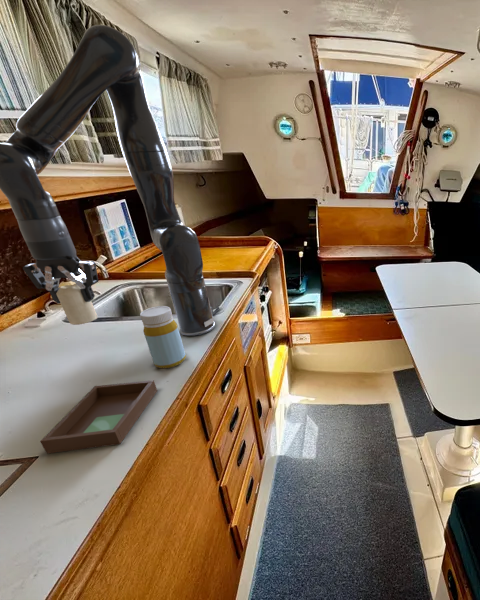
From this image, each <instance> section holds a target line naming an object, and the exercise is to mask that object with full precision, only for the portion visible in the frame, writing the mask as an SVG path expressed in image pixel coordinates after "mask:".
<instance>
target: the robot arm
mask: <svg viewBox="0 0 480 600" xmlns="http://www.w3.org/2000/svg"><path fill="white" fill-rule="evenodd" d="M104 92H106V93H107V95H108V98H109V100H110V103H111V107H112V111H113V116H114V122H115V128H116V129H115V130H116V133H117V137H118V142H119V145H120V149H121V152H122V155H123V158H124V160H125V163H126V166H127V169H128V171H129V174H130V176H131V178H132V181H133V184H134V186H135V188H136V191H137V193H138V195H139V198H140V200H141V203H142V204H143V208H144V211H145V215H146V219H147V223H148V228H149V233H150V236H151V240H152V242H153V245H154V246H155V247H156V248H157V249H158V250H159V251H161V252H162V256H163V260H164V264H165V270H164V277H165V280H166V283H167V288H168V291H169V294H170V298H171V302H172V305H173V309H174V312H175V315H176V319H177V323H178V326H179V327H178V328H179V333H180V335H182V336H186V337H195V336H202V335H204V334H207V333H210V332H211V331H212V330H214V329H215V328H216V323H215V320H214V315H216V314H217V313H218V311H219V310H220V306H218V307H216V308H215V310H214V308H213V306H212V305H211V303H210V299H209V293H208V290H207V285H206V281H205V277H204V271H203V269H204V261H203V255H202V250H201V245H200V241H199V238H198V235H197V234H196V232H195V231H194V230H193V229H192V228H191V227H189V226H187V225H184V223H183V221H182V219H181V217H180V214H179V211H178V209H177V205H176V203H175V202H176V201H175V194H174V192H175V191H174V190H175V182H174V172H173V165H172V163H171V160H170V156H169V153H168V149H167V147H166V143H165V141H164V139H163V136H162V133H161V131H160V129H159V127H158V124H157V122H156V120H155V117H154V115H153V112H152V110H151V107H150V106H149V105H150V104H149V101H148V98H147V92H146V89H145V84H144V78H143V74H142V65H141V60H140V57H139V54H138V52H137V50H136V48H135V46H134V44H133V43H132V42H131V41H130V39H129V38H128V37H127V36H126V35H125V34H124V33H122V32H121V31H119V30H118V29H116V28H114V27H112V26H109V25H105V24H95V25H91V26H90V27H88V28H87V29H86V30H85V32H84V33H83V36H82V38H81V40H80V41H79V43H78V45H77V47H76V49H75V51H74V53H73V54H72V56H71V58H70V60H69V61H68V63H67V64H66V66H65V67H64V68H63V70H62V71H61V73H60V74H59V75H58V76H57V78H56V79H55V80H54V81H53V82H52V83H51V84H50V85H49V86H48V87H47V89H45V91H44V92H43V93H42V94H41V95H40V96H39V97H38V98H37V99H35V101H34V102H33V103H32V104H31V105H30V106H29V107H28V108H27V109H26V111H25V112H23V114H22V115H21V116H20V117H19V118H18V120H17V122H16V124H15V127H16V130H15V131H14V132H13V133H12V134H11V136H9V138H8V139H7V140H6V141H5V142H0V191H1V192H2V193H3V195H4V196H5V198H7V200H8V203H9V206H10V208H11V210H12V212H13V214H14V216H15V219H16V221H17V224H18V228H19V230H20V233H21V235H22V237H23V239H24V241H25V244H26V246H27V248H28V250H29V252H30V255H31V256H32V258H33V259H34V260H35V261H36V262H35V263H34V262H32V263H29V264H26V265H24V266H22V270H23V271H24V272H25V274H26V275H27V277H28V279H30V281H31V282H32V284H33V285H34V286H35V288H37V289H38V290H41V289H43V290H44V289H45V290H46V291H48V292H49V294H50V296H51V298H52V300H53V301H54V302H55V303H56V304H57V305H58V304H60V305H61V303H60V301H59V299H58V297H57V294H56V293H57V291H58V290H59V289H60V287H61V286H60V280H61V279H62V278H64V279H69V280H70V282H72V283H74V284H77V285H78V286H79V287H80V288H81V289H80V290H81V293H82V295H83V297H84V300H85V302H90V301H91V302H92V301H93V300H94V298H95V297H96V295H95V292H94V290H93V288H92V286H94V285H96V284H98V283H99V276H98V270H97V264H96V261H94V260H90V261H82V260H81V259H80V258H79V257H78V256H77V249H76V248H75V245H74V242H73V240H72V237H71V235H70V233H69V230H68V228H67V226H66V225H67V224H66V223H65V221H64V220H63V218H62V217H61V214H60V212H59V209H58V207H57V204H56V201H55V200H54V198H53V197H52V195H51V194H50V193H49V192H48V191H46V190H45V189H44V187H43V185H42V182H41V180H40V178H39V175H40V174H41V173H42V172H43V171H44V170H45V169H46V167H47V166H48V165H49V164H50V162H51V160H52V159H53V157H54V156H55V154H56V152H57V151H58V150H59V148H61V147H62V146H63V145H64V144H65V143H66V142H67V141H68V140H69V139H70V138H71V136H72V135H74V133H75V132H76V131H77V129H78V128H79V127H80V125H82V123H83V121H84V120H85V118H86V117H87V115H88V113H89V112H90V110H91V109H92V107H93V105H94V104H95V103H96V101H98V99H99V98H100V97H101V96H102V94H104ZM80 268H81V269H80ZM43 272H44V273H43ZM59 286H60V287H59Z"/></svg>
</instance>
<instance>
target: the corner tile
mask: <svg viewBox="0 0 480 600" xmlns="http://www.w3.org/2000/svg"><path fill="white" fill-rule="evenodd" d="M123 415H124V414H120V415H111V416H103V417H97V418H96V419H95V420H94V421H93V422H92V423H91V424H90V426H89V427H88V428H87V429H86V430H85V431H84V433H88V432H96V431H104V430H112V429H113V428H114V427H115V426H116V424H117V423H118V422H119V420H120V419H121V418H122V417H123Z"/></svg>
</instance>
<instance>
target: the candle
mask: <svg viewBox="0 0 480 600" xmlns="http://www.w3.org/2000/svg"><path fill="white" fill-rule="evenodd" d="M80 289H81V288H80V287H79V286H78V285H77V284H76V283H74V284H67V285H60V289H59V290H58V291H57V293H56V294H57V297H58V299H59V301H60V303H61V304H60V305H61V308H62V310H63V313H64V314H65V316H66V318H67V320H68V323H69V324H70V325H72V326H77V325H78V326H79V325H85V324H89V323H91V322H93V321H96V320H97V319H98V314H97V312H96V309H95V307H94V304H93V302H92V301H90V302H85V300H84V297H83V295H82V293H81V290H80Z"/></svg>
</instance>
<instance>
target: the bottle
mask: <svg viewBox="0 0 480 600" xmlns="http://www.w3.org/2000/svg"><path fill="white" fill-rule="evenodd" d="M139 317H140V319H141V322H142V325H143V334H144V339H145V340H146V341H145V342H146V343H147V347H148V350H149V353H150V356H151V358H152V362H153V364H154V366H155V367H156V368H159V369H170V368H174V367H177V366H178V365H181V364H182V363H183V362H184V361H185V359H186V357H187V355H186V351H185V347H184V344H183V341H182V340H183V339H182V337H181V332H180V328H179V327H178V326H179V325H178V324H177V323H178V322H176V321H175V319H174V316H173V312H172V309H171V307H170V306H167V305H157V306H153V307H149V308H146V309H144V310H142V311H141V312H140V314H139Z"/></svg>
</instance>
